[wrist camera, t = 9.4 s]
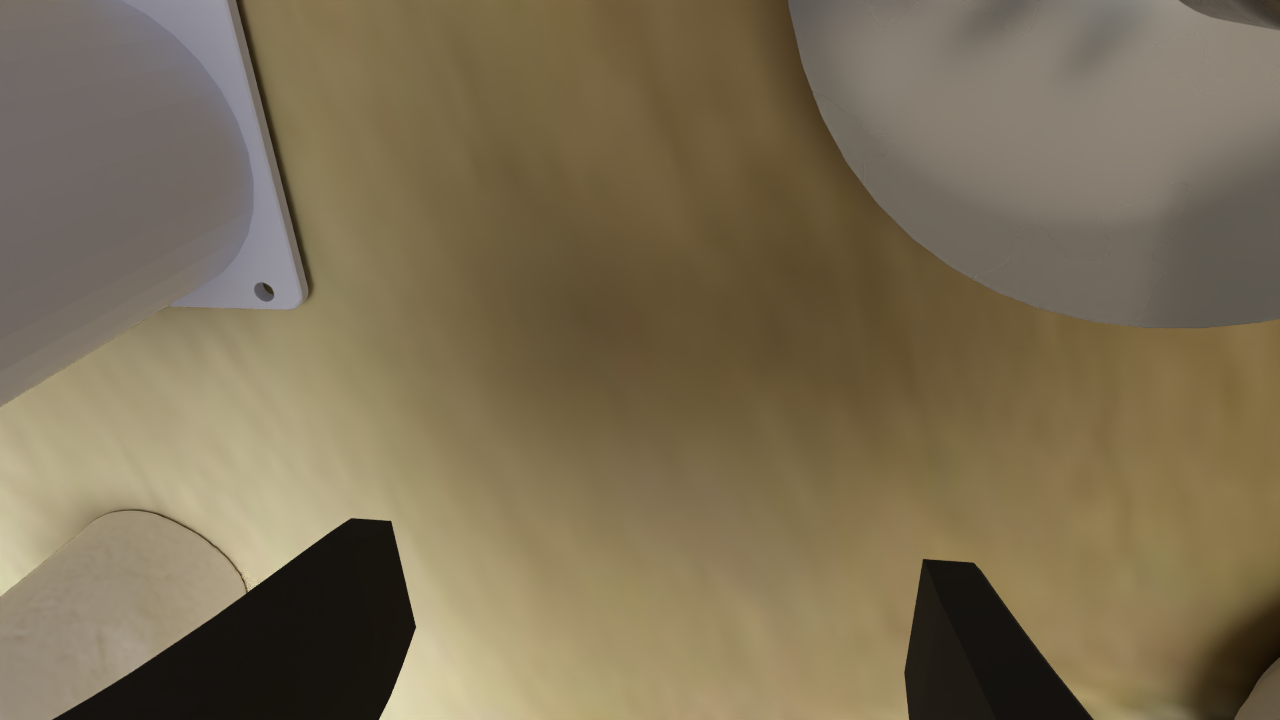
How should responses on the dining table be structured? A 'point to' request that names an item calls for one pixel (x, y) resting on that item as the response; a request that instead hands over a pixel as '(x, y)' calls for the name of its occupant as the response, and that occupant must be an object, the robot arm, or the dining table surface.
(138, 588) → the roll
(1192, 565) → the dining table surface
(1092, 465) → the dining table surface
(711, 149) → the dining table surface
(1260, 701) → the teacup
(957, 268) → the steel lid
